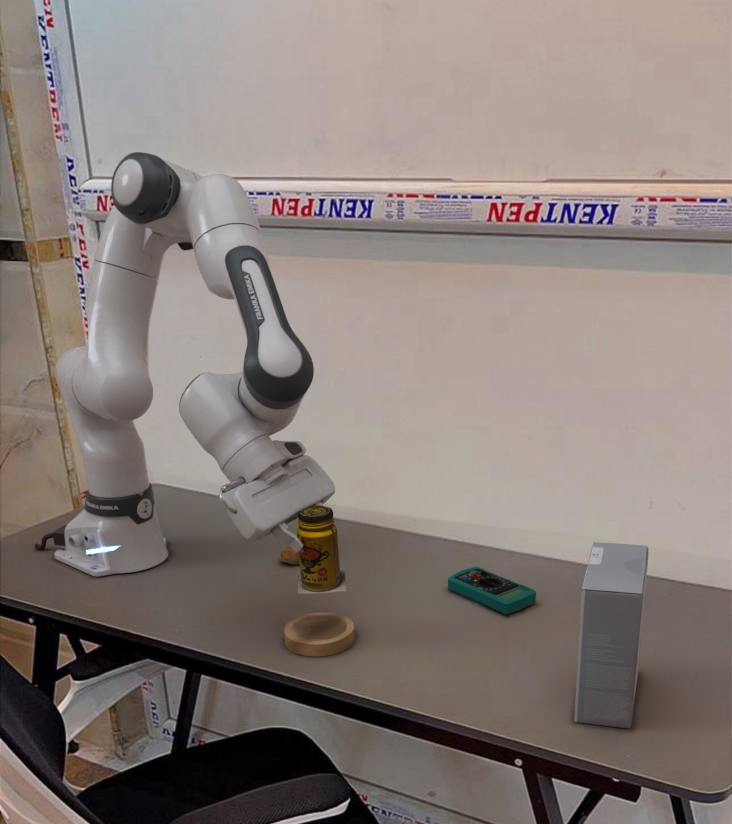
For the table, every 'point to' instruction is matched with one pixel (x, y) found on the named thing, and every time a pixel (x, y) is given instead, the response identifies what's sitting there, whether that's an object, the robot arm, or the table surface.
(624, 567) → the hard drive box
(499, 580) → the digital multimeter
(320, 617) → the coaster
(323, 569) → the condiment
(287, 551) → the pastry
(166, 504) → the table surface
